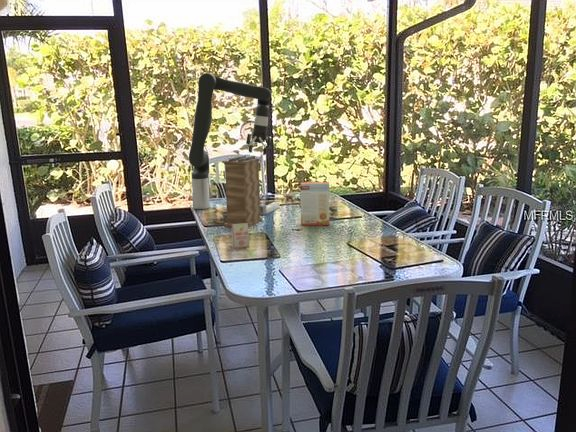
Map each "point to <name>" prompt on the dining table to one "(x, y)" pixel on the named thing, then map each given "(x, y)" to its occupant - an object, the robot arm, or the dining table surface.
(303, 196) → the cracker box
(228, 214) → the walnut stand
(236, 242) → the small beige carton
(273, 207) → the steel bar
